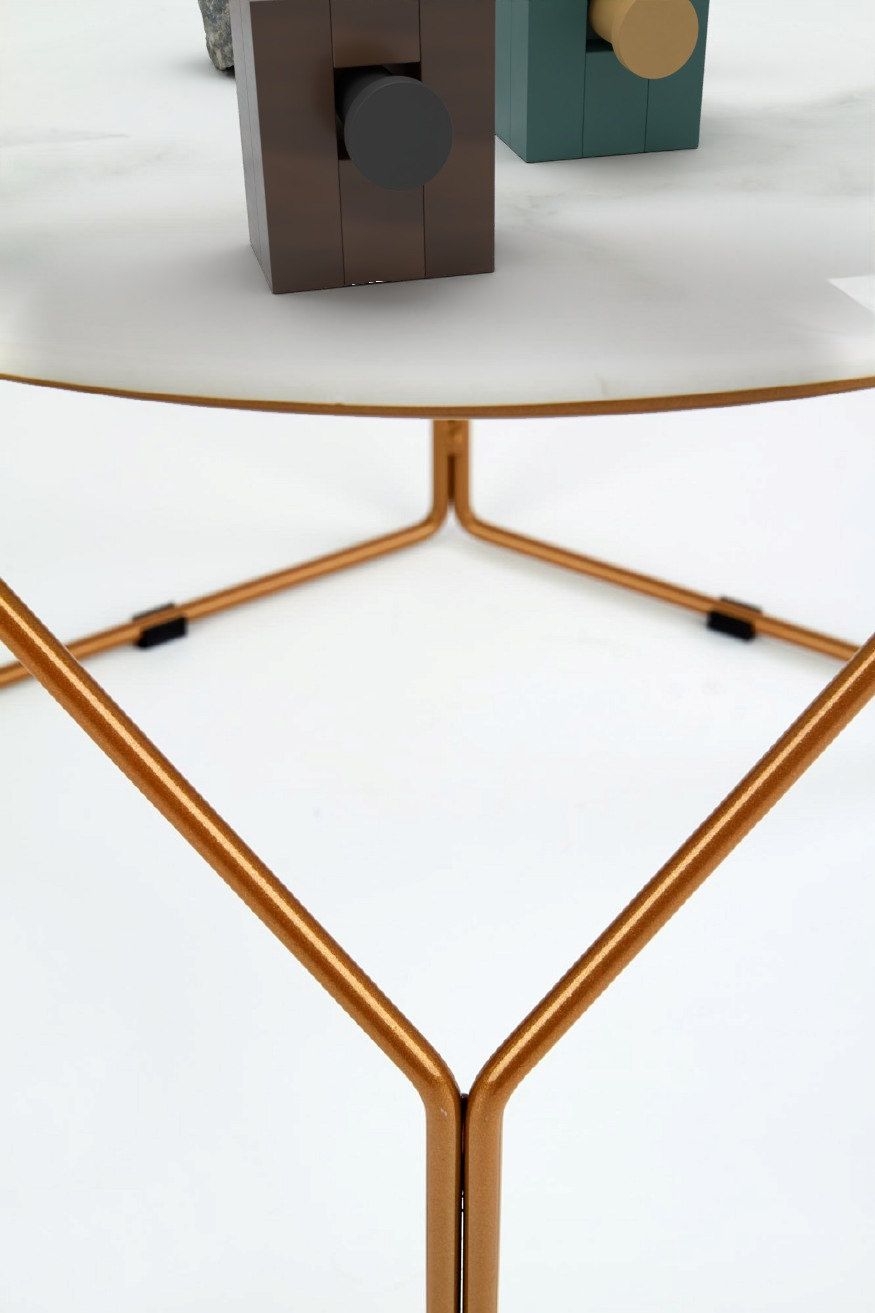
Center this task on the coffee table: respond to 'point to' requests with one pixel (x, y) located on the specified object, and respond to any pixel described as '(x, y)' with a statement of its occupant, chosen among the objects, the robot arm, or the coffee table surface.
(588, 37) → the block
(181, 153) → the coffee table surface
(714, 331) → the coffee table surface
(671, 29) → the knob
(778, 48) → the coffee table surface
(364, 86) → the knob
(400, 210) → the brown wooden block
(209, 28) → the rock
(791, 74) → the coffee table surface
